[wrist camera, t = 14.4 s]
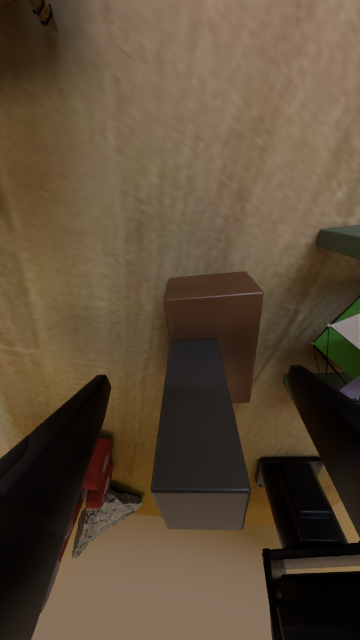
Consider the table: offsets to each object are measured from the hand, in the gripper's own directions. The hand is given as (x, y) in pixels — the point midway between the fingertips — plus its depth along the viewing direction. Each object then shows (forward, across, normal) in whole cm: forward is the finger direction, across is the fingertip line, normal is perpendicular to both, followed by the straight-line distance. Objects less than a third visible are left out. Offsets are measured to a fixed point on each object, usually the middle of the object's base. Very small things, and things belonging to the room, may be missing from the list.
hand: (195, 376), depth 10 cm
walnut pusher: (+4, 0, 0) cm, 4 cm away
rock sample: (+4, +13, +28) cm, 31 cm away
